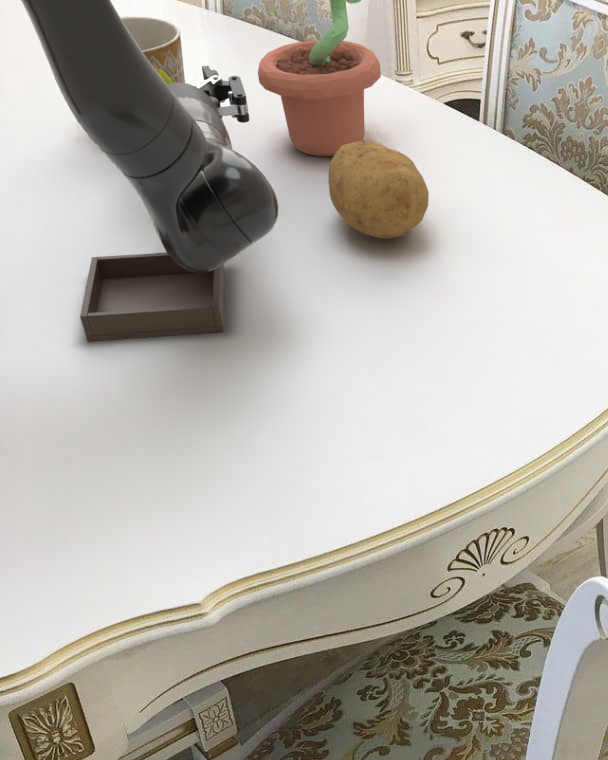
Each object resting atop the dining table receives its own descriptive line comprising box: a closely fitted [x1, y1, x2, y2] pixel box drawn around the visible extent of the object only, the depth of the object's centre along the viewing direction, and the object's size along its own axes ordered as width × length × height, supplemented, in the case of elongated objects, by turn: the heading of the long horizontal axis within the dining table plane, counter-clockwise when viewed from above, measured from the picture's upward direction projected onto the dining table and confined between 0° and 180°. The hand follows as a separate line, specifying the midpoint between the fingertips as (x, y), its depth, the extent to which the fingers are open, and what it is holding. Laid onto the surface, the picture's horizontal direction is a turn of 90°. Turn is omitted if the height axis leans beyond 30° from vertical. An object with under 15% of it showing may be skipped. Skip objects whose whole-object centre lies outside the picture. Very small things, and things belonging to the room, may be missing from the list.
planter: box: [120, 16, 186, 83], centre depth 130 cm, size 13×13×10 cm
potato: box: [328, 140, 430, 240], centre depth 114 cm, size 10×14×8 cm
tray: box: [79, 252, 226, 342], centre depth 104 cm, size 12×11×2 cm
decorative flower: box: [257, 0, 382, 157], centre depth 121 cm, size 15×14×30 cm
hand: (165, 79), depth 116 cm, fingers open, 8 cm apart
